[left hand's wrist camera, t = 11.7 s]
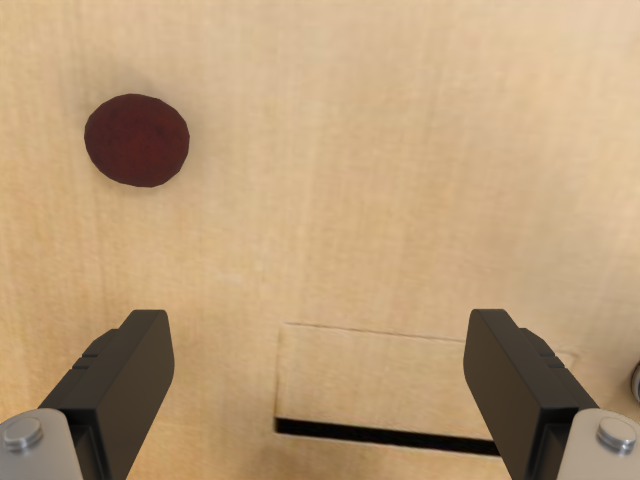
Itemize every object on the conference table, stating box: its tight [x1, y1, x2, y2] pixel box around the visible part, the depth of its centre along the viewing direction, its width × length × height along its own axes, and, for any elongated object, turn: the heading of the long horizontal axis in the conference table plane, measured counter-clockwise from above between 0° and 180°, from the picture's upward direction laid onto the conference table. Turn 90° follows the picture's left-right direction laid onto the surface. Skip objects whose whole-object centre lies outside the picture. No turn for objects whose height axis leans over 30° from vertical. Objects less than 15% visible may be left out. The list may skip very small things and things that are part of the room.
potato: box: [84, 94, 190, 187], centre depth 34 cm, size 7×8×7 cm
